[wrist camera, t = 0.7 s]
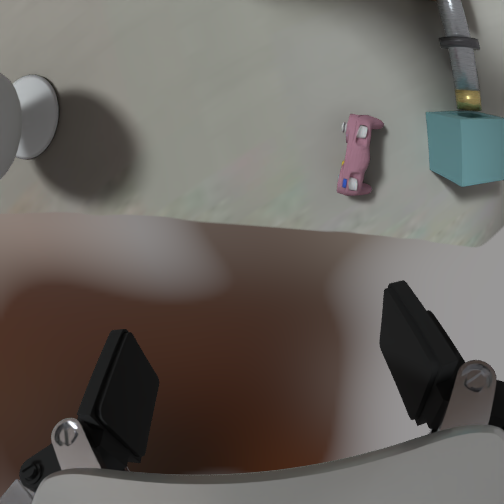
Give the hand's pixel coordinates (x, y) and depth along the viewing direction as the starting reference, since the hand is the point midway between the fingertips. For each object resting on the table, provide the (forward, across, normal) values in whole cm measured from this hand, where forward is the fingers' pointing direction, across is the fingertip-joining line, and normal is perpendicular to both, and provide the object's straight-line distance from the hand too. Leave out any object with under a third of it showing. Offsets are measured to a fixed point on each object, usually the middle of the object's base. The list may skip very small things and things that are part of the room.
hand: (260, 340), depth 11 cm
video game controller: (+29, -13, +1) cm, 32 cm away
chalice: (+29, +28, -15) cm, 43 cm away
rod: (+27, -28, -18) cm, 43 cm away
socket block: (+28, -29, 0) cm, 40 cm away
